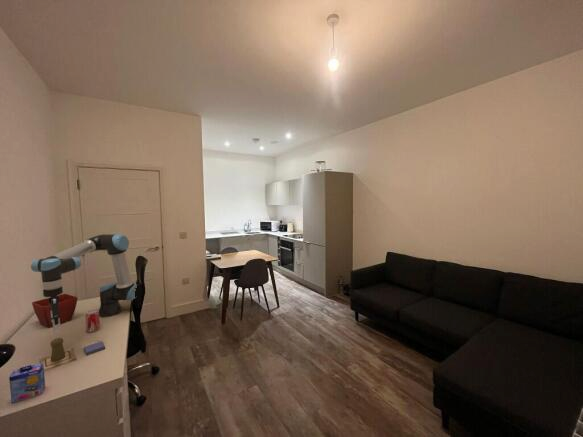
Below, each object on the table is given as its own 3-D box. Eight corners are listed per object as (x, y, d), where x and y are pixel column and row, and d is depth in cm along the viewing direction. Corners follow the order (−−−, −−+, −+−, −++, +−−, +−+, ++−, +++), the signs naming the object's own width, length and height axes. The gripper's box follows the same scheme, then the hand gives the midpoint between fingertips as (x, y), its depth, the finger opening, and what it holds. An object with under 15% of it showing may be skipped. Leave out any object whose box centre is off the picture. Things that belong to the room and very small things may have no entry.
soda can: (99, 326, 171) (98, 308, 170) (100, 330, 166) (99, 311, 165) (86, 330, 166) (84, 311, 166) (87, 334, 161) (85, 315, 160)
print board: (73, 349, 145) (73, 347, 145) (76, 359, 135) (76, 357, 135) (39, 360, 134) (39, 358, 134) (40, 372, 125) (40, 370, 125)
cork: (57, 355, 138) (55, 336, 137) (68, 354, 138) (67, 335, 137) (47, 362, 132) (45, 342, 131) (59, 361, 132) (58, 342, 131)
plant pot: (66, 314, 191) (65, 293, 190) (79, 319, 183) (78, 297, 182) (32, 325, 174) (31, 302, 173) (45, 331, 166) (43, 307, 165)
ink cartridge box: (10, 404, 105) (7, 372, 104) (15, 395, 110) (12, 365, 109) (42, 394, 111) (39, 363, 110) (45, 386, 115) (43, 357, 114)
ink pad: (102, 343, 151) (102, 340, 151) (105, 348, 145) (105, 346, 145) (83, 349, 144) (83, 346, 144) (85, 356, 138) (85, 353, 138)
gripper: (41, 284, 138) (45, 320, 139) (43, 295, 121) (47, 336, 122) (60, 280, 143) (63, 315, 145) (64, 291, 126) (67, 330, 128)
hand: (55, 325), depth 134 cm, fingers open, 13 cm apart
